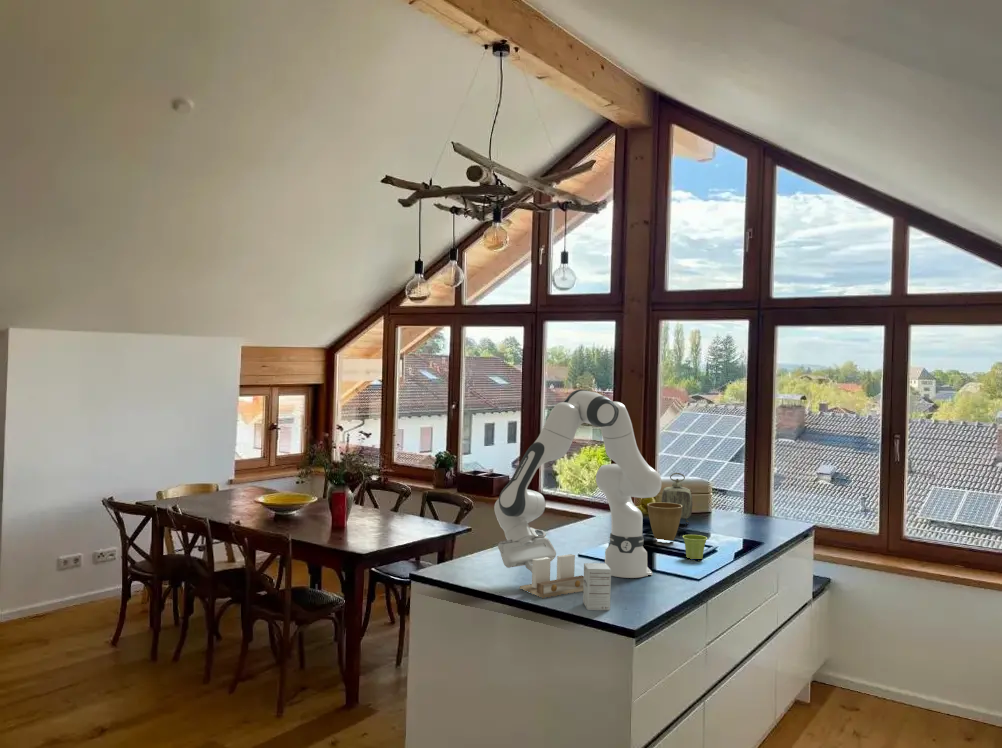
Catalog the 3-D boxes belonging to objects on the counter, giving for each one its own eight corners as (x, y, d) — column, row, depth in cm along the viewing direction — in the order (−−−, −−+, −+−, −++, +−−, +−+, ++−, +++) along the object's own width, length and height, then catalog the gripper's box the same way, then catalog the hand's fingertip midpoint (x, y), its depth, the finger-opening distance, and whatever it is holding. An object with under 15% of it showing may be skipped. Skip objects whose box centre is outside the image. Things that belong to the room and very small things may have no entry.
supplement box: (582, 603, 247) (583, 562, 247) (605, 603, 247) (606, 563, 247) (586, 610, 239) (587, 568, 239) (610, 610, 240) (611, 568, 240)
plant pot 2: (707, 562, 306) (707, 540, 306) (682, 560, 307) (682, 538, 307) (706, 557, 315) (706, 535, 315) (681, 555, 317) (682, 533, 317)
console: (519, 589, 261) (520, 576, 261) (563, 581, 272) (564, 569, 272) (543, 598, 251) (543, 585, 251) (587, 590, 262) (588, 577, 262)
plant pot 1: (658, 536, 353) (659, 500, 353) (688, 542, 343) (689, 505, 343) (639, 541, 342) (640, 504, 342) (669, 547, 332) (670, 509, 332)
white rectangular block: (531, 586, 258) (532, 559, 258) (546, 584, 261) (546, 557, 261) (535, 588, 256) (536, 560, 256) (549, 585, 260) (550, 558, 260)
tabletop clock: (691, 523, 387) (692, 472, 387) (692, 527, 378) (693, 474, 378) (661, 522, 389) (662, 471, 389) (661, 525, 381) (662, 473, 381)
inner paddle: (556, 583, 263) (557, 556, 263) (570, 580, 267) (570, 554, 267) (560, 584, 262) (561, 557, 262) (574, 582, 265) (574, 555, 265)
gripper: (500, 536, 260) (517, 572, 252) (548, 530, 272) (566, 565, 264) (491, 547, 264) (508, 583, 256) (539, 541, 276) (557, 575, 268)
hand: (538, 574), depth 260 cm, fingers closed, pressing on white rectangular block
